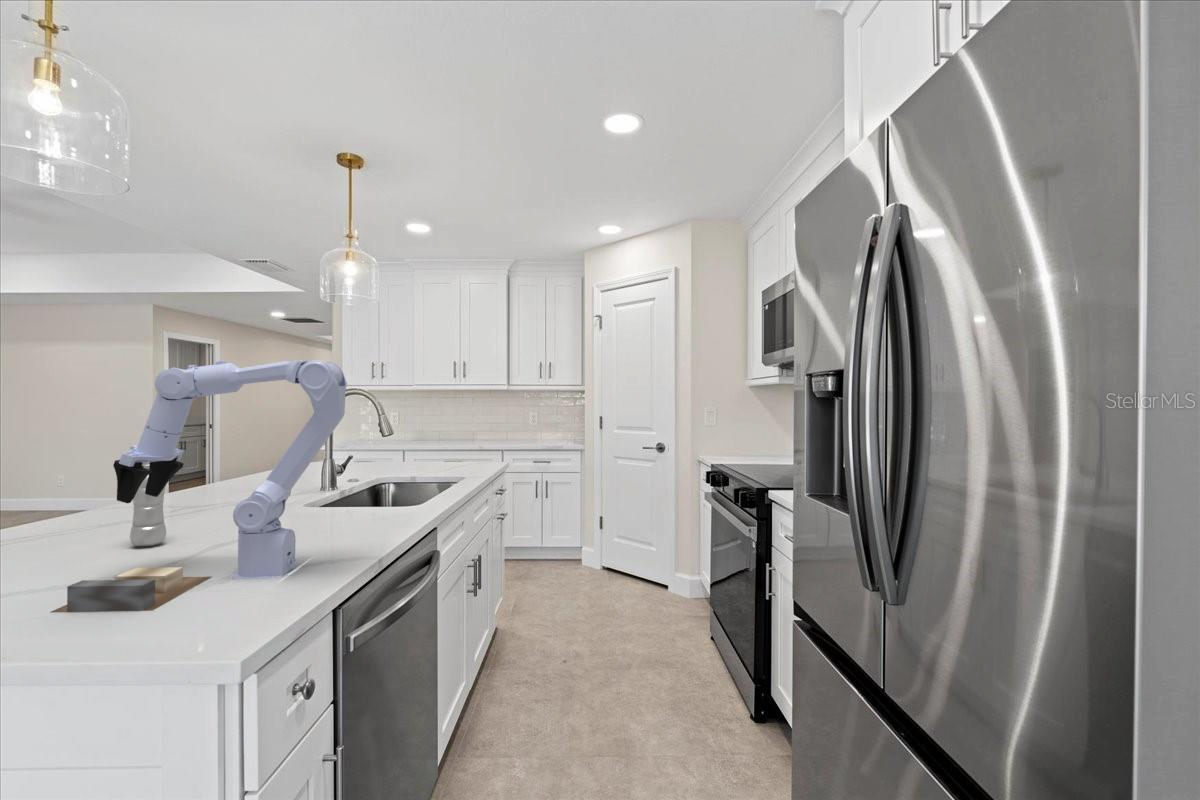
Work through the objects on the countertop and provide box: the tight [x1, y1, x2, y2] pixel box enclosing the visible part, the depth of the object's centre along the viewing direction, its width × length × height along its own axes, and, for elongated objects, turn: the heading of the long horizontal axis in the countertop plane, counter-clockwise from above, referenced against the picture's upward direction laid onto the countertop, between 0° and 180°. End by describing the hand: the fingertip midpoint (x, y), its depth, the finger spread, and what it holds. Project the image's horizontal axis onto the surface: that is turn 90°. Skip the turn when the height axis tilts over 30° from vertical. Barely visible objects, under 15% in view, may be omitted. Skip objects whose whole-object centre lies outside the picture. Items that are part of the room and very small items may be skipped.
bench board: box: [49, 576, 212, 614], centre depth 99 cm, size 15×17×5 cm
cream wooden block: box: [114, 566, 184, 593], centre depth 102 cm, size 8×5×3 cm, turn 96°
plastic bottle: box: [129, 463, 167, 547], centre depth 131 cm, size 6×7×20 cm
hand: (137, 498), depth 108 cm, fingers open, 7 cm apart
